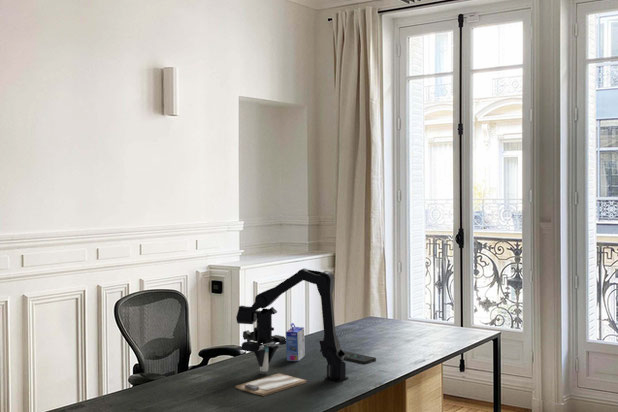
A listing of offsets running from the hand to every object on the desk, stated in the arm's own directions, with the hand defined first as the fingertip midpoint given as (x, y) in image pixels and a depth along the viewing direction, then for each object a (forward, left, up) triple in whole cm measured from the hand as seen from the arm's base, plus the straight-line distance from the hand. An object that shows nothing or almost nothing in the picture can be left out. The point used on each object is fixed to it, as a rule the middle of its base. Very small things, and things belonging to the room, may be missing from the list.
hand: (264, 365), depth 264 cm
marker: (0, 0, -3) cm, 3 cm away
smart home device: (-10, -41, -4) cm, 42 cm away
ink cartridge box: (+7, -25, -3) cm, 26 cm away
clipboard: (-13, +9, -3) cm, 16 cm away
